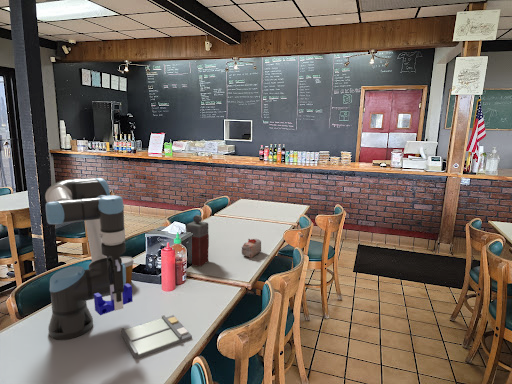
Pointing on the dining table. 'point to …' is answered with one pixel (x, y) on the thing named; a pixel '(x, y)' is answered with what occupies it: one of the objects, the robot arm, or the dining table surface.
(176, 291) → the dining table surface
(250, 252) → the food item
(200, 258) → the dark red bottle
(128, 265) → the disposable coffee cup
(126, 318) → the dining table surface
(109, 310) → the cable clip
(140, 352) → the board
